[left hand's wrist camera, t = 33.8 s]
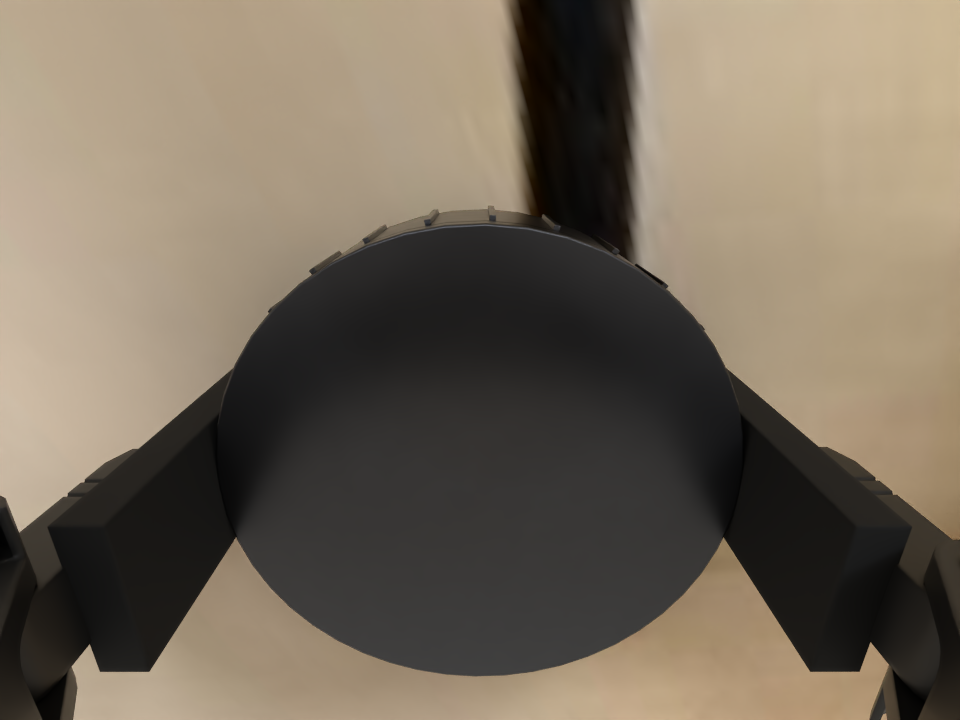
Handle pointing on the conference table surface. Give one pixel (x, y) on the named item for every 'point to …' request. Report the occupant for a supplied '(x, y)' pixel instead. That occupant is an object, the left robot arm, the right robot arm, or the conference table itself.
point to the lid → (479, 445)
